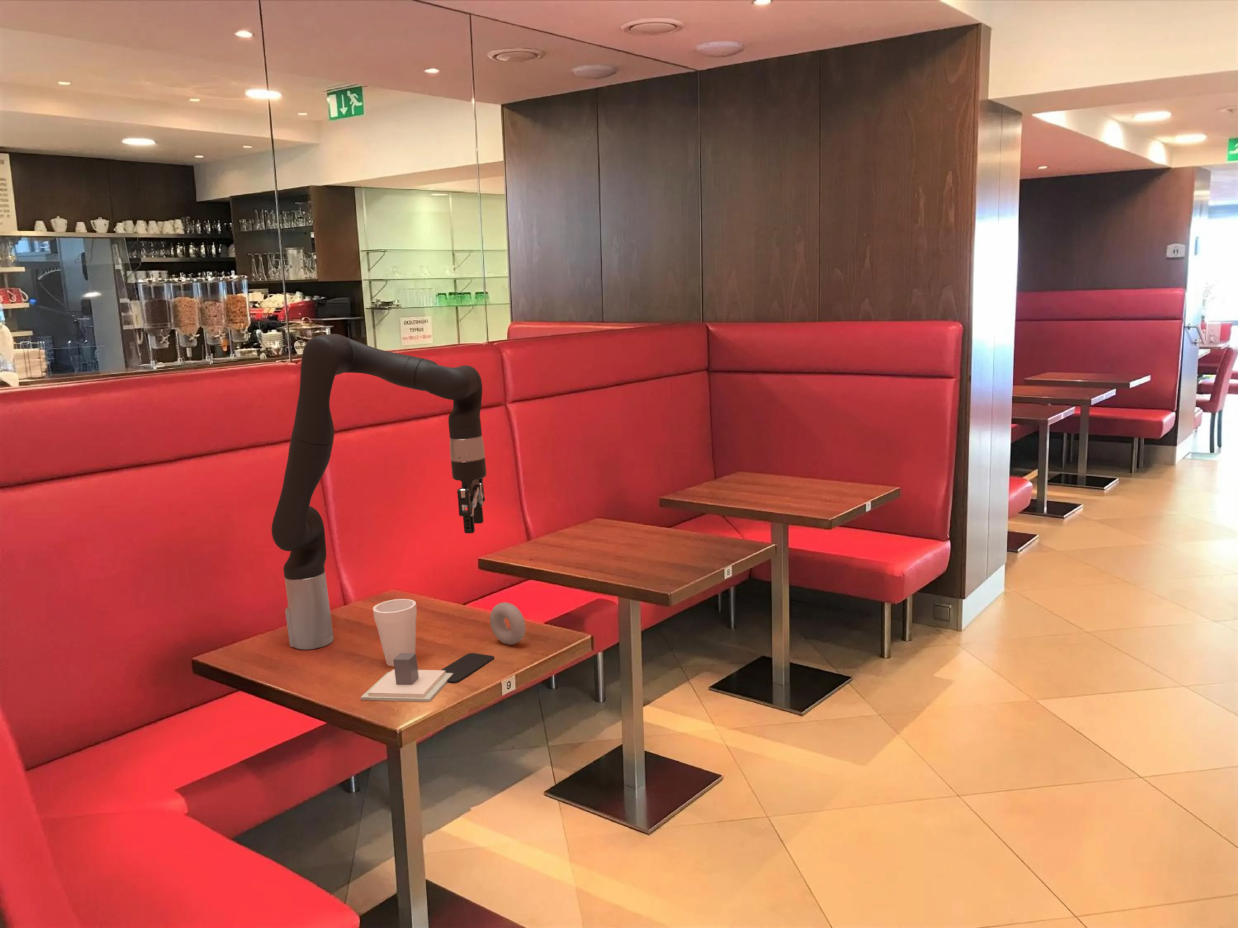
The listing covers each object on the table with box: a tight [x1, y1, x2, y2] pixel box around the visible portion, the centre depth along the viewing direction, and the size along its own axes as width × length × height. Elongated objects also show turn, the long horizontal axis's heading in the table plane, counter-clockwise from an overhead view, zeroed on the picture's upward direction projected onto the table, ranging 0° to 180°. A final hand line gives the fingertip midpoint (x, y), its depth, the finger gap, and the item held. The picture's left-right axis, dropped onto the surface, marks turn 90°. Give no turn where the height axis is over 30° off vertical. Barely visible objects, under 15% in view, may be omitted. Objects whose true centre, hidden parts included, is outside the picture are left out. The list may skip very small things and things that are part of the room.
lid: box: [368, 652, 446, 698], centre depth 201 cm, size 12×12×6 cm
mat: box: [360, 671, 453, 703], centre depth 202 cm, size 15×13×1 cm
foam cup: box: [372, 598, 418, 667], centre depth 216 cm, size 10×9×13 cm
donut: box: [489, 602, 526, 646], centre depth 222 cm, size 10×4×10 cm, turn 52°
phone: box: [441, 652, 495, 684], centre depth 211 cm, size 7×1×15 cm
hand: (474, 528), depth 217 cm, fingers open, 8 cm apart
